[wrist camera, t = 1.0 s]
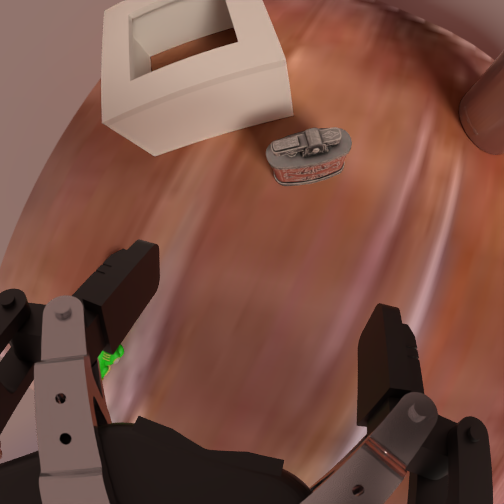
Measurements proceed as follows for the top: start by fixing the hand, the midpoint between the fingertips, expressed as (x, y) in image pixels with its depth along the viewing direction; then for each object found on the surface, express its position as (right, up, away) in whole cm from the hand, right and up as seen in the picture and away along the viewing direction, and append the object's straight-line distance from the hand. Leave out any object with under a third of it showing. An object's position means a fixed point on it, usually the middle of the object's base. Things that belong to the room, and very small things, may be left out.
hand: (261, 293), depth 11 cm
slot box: (-6, +24, +26) cm, 36 cm away
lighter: (+6, +11, +24) cm, 27 cm away
